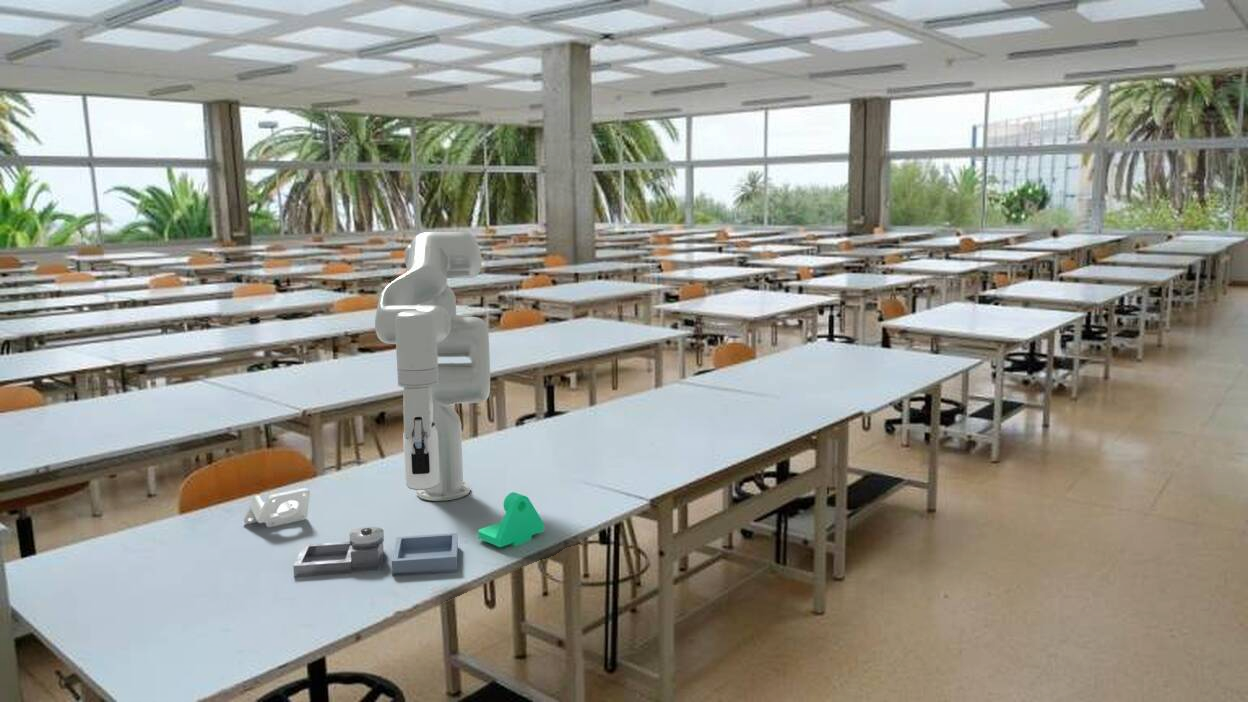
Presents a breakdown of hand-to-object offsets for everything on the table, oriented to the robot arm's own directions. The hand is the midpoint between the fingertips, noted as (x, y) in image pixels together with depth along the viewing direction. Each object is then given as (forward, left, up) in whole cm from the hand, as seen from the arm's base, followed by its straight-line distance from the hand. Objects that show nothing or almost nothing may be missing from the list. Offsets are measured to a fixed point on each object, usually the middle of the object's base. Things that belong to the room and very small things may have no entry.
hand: (422, 466), depth 169 cm
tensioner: (-2, -16, -19) cm, 25 cm away
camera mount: (-9, +17, -20) cm, 27 cm away
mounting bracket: (-26, -33, -20) cm, 47 cm away
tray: (0, 0, -19) cm, 19 cm away
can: (0, 0, -4) cm, 4 cm away
